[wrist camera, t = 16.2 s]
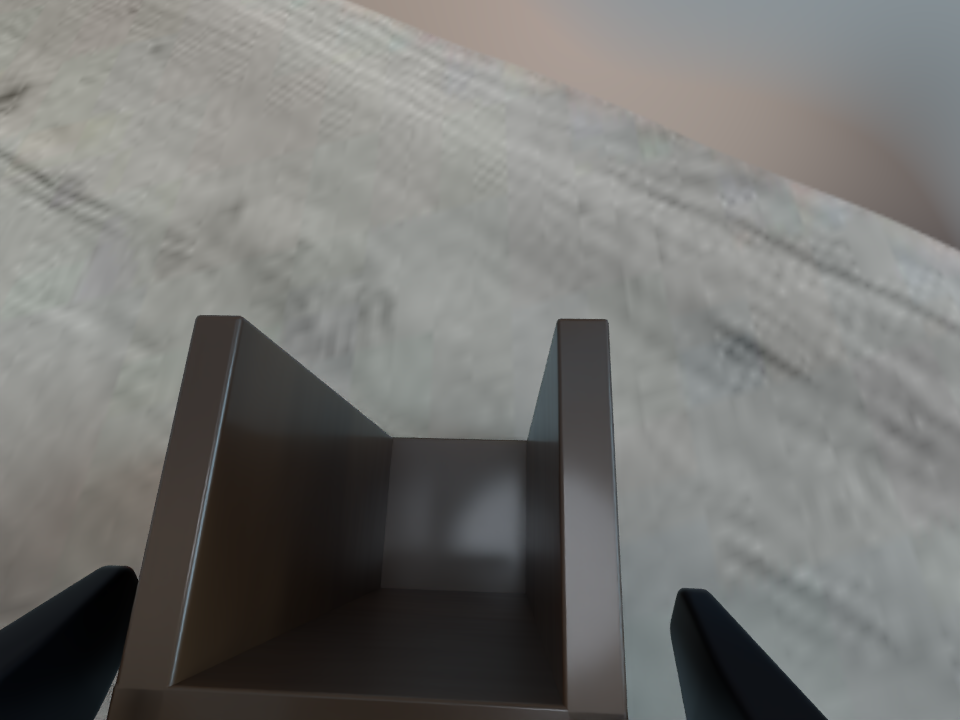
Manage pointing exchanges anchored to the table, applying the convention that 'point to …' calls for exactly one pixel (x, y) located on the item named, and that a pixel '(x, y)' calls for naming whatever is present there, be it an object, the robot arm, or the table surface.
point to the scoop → (376, 553)
